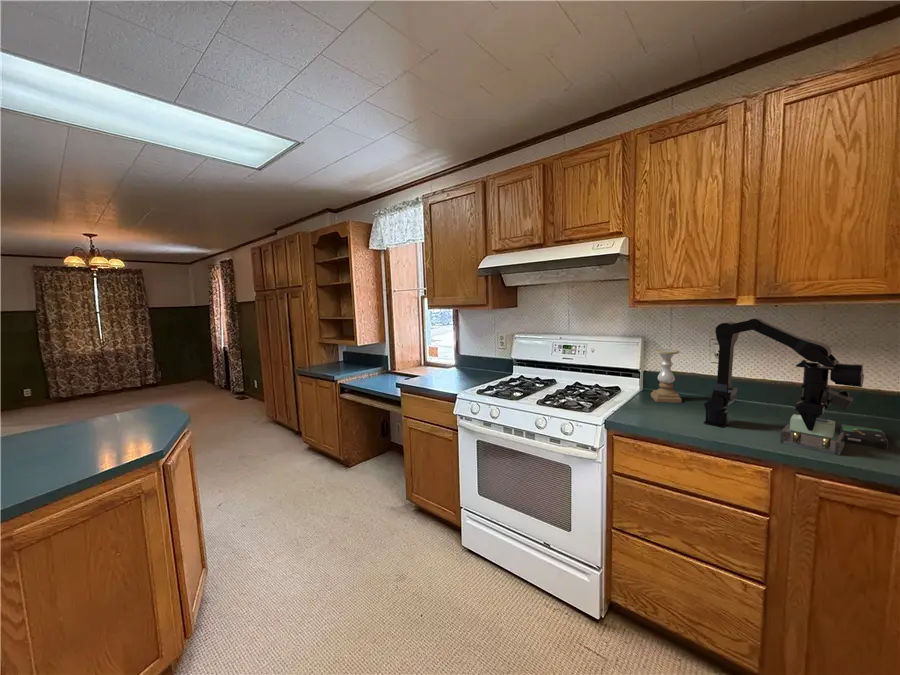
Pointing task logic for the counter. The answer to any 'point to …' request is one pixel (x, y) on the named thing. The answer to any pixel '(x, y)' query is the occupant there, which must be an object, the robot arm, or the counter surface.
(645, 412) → the counter surface
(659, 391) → the candle holder
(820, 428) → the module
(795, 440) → the chassis
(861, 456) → the counter surface
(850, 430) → the disk drive
